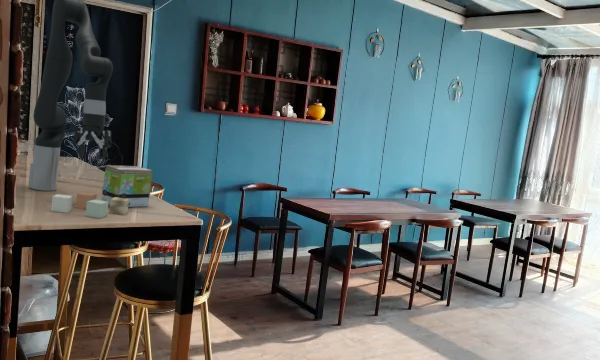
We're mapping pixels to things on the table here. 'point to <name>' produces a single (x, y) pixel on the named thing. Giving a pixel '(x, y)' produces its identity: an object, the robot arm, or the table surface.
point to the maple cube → (119, 205)
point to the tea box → (127, 184)
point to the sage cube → (96, 208)
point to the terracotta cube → (84, 199)
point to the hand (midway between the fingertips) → (91, 157)
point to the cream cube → (61, 203)
